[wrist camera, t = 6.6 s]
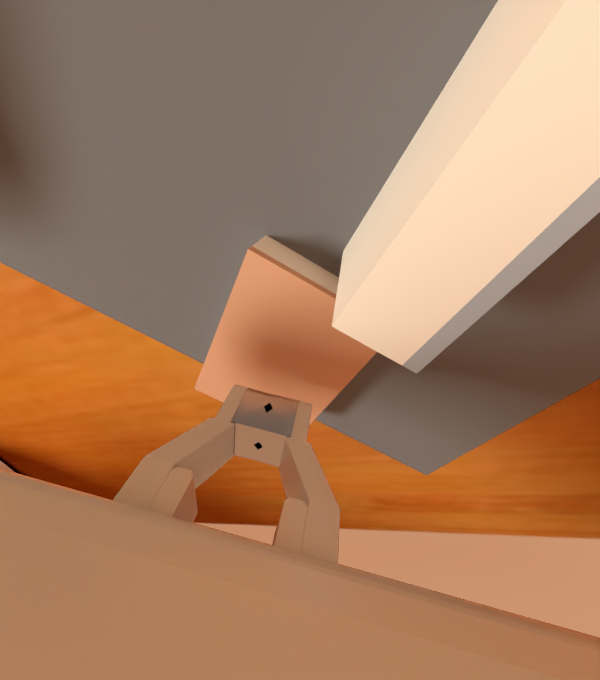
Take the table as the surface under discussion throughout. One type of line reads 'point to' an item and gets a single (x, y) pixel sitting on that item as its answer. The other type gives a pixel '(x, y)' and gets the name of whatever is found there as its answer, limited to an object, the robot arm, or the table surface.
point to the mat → (263, 187)
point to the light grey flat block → (481, 184)
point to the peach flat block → (282, 332)
